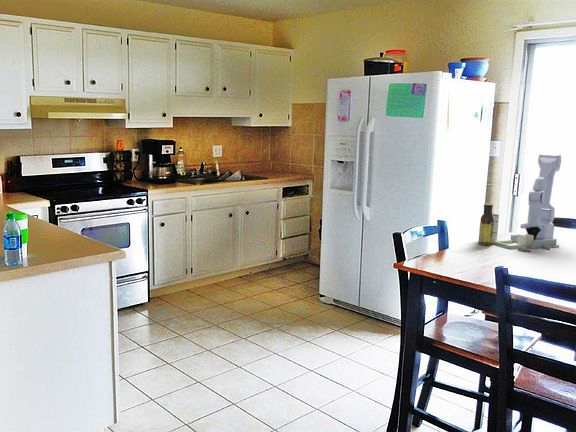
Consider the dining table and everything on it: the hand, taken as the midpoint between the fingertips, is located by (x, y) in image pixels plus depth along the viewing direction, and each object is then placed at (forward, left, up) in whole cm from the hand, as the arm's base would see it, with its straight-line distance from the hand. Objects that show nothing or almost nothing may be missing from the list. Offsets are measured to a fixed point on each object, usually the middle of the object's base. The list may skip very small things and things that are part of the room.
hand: (531, 242), depth 270 cm
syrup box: (+16, -11, -1) cm, 20 cm away
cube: (+4, 0, -1) cm, 4 cm away
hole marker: (+14, +10, -1) cm, 18 cm away
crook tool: (-4, +10, -1) cm, 11 cm away
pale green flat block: (+13, 0, -1) cm, 14 cm away
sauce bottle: (+24, -5, -1) cm, 25 cm away
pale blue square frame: (-1, 0, -1) cm, 1 cm away
